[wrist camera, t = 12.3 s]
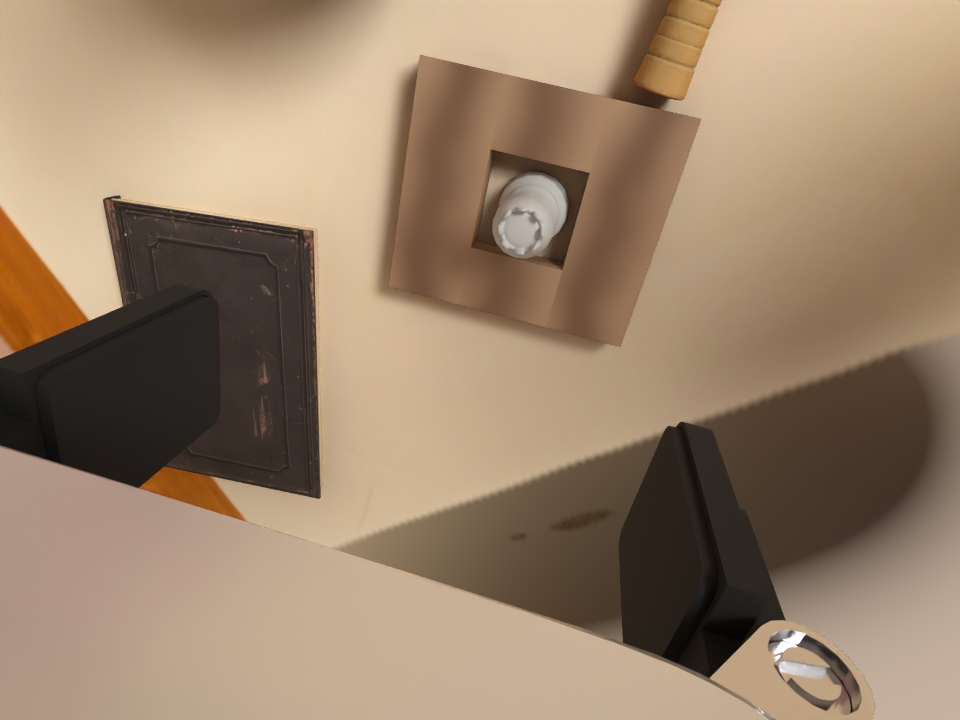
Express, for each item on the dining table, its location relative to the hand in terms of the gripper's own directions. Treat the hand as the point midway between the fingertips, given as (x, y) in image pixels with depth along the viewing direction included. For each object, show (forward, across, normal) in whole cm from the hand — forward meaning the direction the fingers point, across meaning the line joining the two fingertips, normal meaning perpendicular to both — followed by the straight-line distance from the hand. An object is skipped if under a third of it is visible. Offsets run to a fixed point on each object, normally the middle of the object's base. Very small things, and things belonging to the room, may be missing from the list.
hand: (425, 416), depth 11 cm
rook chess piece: (+27, +1, 0) cm, 27 cm away
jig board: (+27, +1, 0) cm, 27 cm away
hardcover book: (+27, +22, +17) cm, 39 cm away
